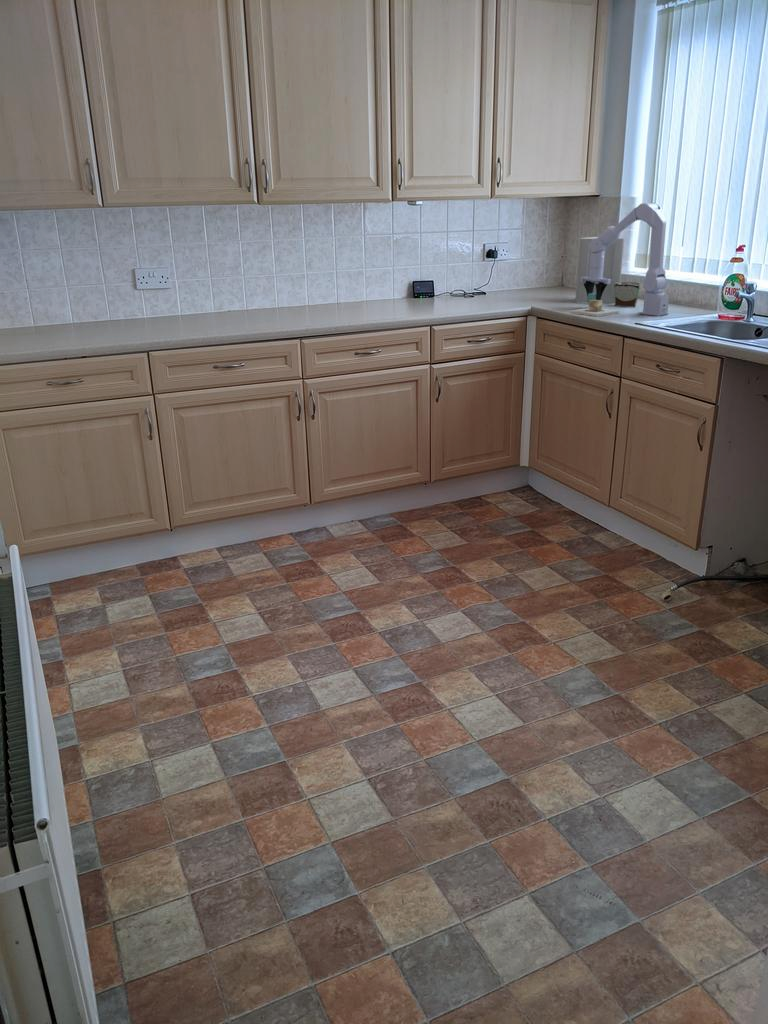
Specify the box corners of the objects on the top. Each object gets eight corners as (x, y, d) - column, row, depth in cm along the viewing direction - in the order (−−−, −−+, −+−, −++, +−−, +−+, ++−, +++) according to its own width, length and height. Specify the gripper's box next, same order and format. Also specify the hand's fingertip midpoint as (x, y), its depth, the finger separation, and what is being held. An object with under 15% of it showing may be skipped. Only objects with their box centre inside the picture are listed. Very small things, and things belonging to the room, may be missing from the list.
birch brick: (601, 310, 352) (602, 300, 351) (597, 311, 349) (598, 301, 348) (592, 309, 354) (593, 299, 353) (588, 310, 352) (589, 300, 350)
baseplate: (618, 313, 351) (618, 310, 351) (597, 316, 343) (597, 313, 342) (591, 309, 361) (591, 307, 361) (570, 313, 353) (570, 310, 353)
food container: (643, 306, 372) (646, 282, 368) (637, 307, 367) (640, 284, 364) (617, 303, 379) (619, 281, 375) (611, 305, 375) (613, 282, 371)
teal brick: (600, 303, 365) (601, 293, 364) (594, 304, 363) (595, 294, 361) (592, 302, 368) (593, 293, 367) (587, 303, 366) (587, 293, 364)
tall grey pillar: (615, 299, 394) (621, 236, 383) (618, 303, 380) (624, 238, 370) (574, 298, 396) (578, 236, 386) (575, 302, 383) (580, 238, 373)
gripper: (616, 267, 357) (613, 300, 362) (588, 265, 368) (586, 297, 373) (606, 269, 353) (603, 301, 358) (578, 266, 364) (576, 298, 368)
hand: (594, 299), depth 365 cm, fingers closed on teal brick, 4 cm apart
